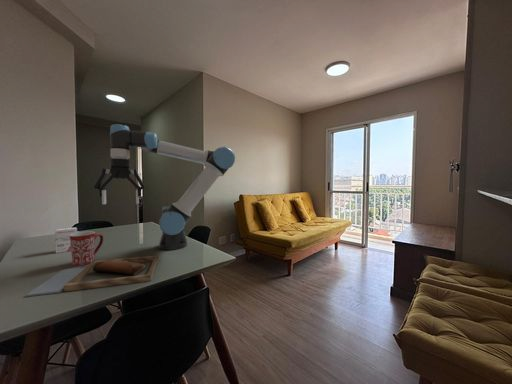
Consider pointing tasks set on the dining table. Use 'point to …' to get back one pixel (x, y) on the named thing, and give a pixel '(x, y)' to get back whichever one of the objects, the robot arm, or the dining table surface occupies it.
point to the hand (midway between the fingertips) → (121, 203)
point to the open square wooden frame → (77, 285)
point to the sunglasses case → (119, 266)
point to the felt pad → (55, 283)
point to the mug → (84, 247)
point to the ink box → (63, 239)
